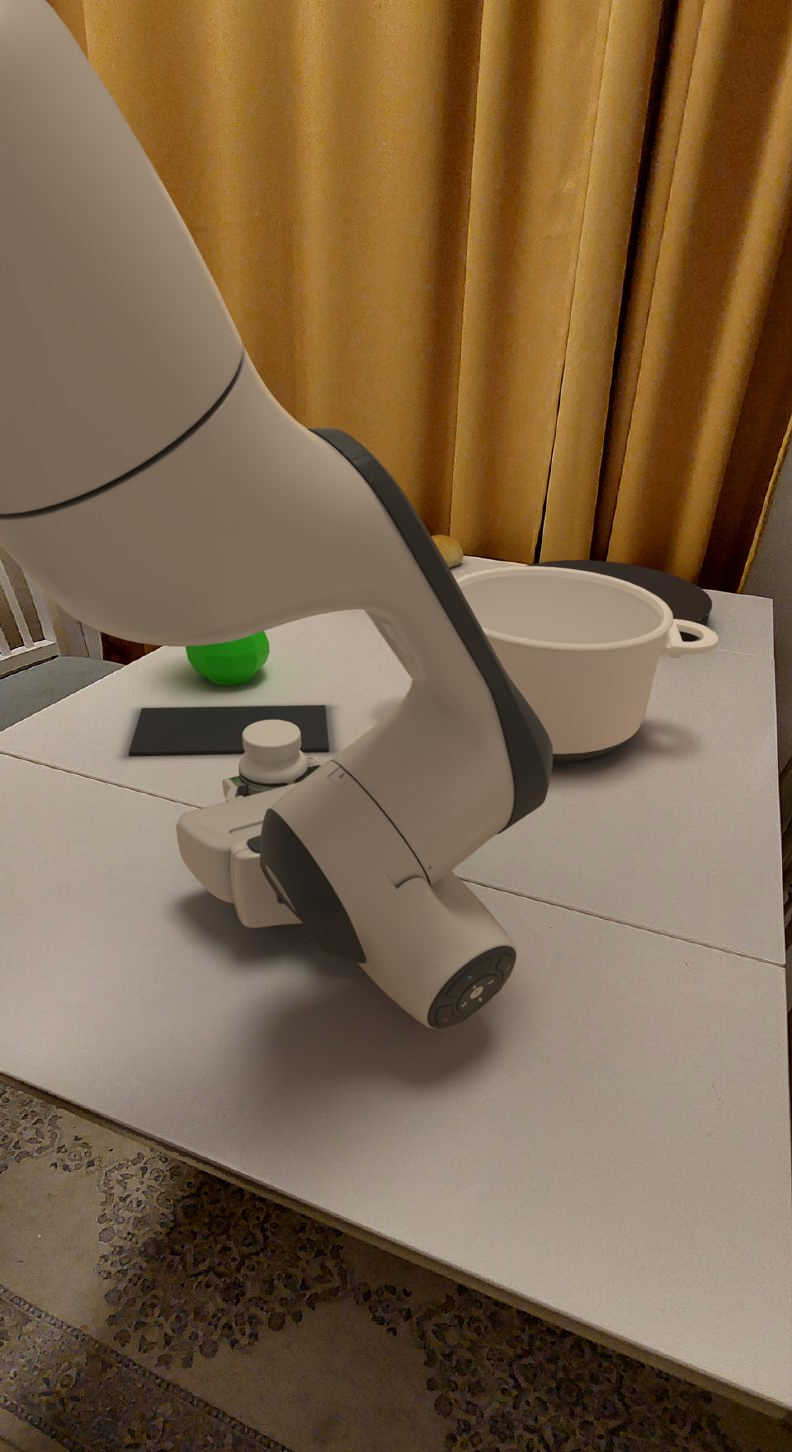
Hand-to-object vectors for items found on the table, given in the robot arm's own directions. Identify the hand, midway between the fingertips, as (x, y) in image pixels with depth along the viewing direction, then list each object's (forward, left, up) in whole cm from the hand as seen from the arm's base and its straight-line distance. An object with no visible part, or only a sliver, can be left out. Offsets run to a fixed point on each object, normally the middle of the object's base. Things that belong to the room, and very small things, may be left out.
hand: (269, 774), depth 70 cm
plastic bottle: (-6, +33, -6) cm, 34 cm away
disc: (+46, +54, -6) cm, 72 cm away
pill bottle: (0, -1, -6) cm, 6 cm away
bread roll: (+25, +77, -6) cm, 82 cm away
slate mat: (-5, +19, -6) cm, 21 cm away
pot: (+28, +19, -6) cm, 35 cm away
